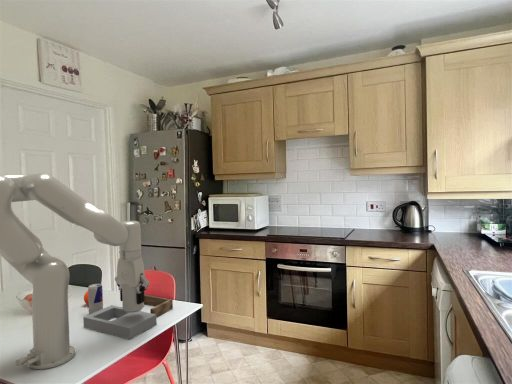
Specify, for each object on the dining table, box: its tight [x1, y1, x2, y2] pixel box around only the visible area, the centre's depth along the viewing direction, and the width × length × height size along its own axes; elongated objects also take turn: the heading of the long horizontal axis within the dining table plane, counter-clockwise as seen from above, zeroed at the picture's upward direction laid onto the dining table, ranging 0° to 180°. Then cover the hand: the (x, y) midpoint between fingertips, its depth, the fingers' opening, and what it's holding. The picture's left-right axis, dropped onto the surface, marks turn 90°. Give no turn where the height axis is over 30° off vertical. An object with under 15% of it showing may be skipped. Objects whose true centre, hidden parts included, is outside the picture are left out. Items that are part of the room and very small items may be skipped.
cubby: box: [144, 294, 174, 318], centre depth 140 cm, size 12×16×4 cm
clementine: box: [83, 290, 89, 306], centre depth 148 cm, size 8×7×7 cm
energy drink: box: [87, 283, 104, 315], centre depth 137 cm, size 5×5×12 cm
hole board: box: [82, 305, 158, 340], centre depth 125 cm, size 13×24×4 cm, turn 65°
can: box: [121, 282, 145, 313], centre depth 122 cm, size 8×8×12 cm
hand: (132, 301), depth 122 cm, fingers closed on can, 7 cm apart
